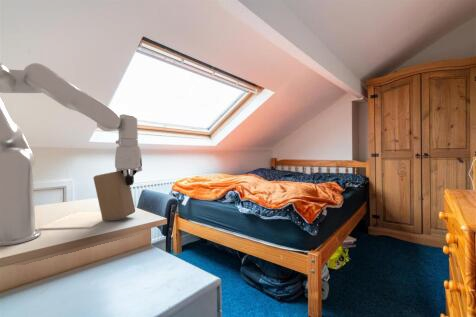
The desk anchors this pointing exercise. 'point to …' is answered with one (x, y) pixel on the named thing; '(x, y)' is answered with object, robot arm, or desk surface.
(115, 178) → the block
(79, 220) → the mat
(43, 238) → the desk surface
